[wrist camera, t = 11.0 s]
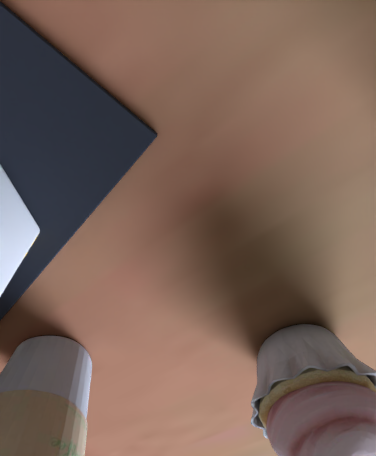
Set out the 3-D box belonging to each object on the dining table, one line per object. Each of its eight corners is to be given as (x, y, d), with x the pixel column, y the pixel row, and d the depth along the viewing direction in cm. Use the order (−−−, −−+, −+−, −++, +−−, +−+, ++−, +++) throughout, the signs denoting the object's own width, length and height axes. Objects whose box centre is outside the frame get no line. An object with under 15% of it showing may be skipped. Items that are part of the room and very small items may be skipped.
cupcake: (382, 344, 28) (474, 493, 19) (289, 400, 31) (333, 547, 23) (308, 285, 24) (381, 433, 16) (213, 355, 28) (231, 507, 19)
